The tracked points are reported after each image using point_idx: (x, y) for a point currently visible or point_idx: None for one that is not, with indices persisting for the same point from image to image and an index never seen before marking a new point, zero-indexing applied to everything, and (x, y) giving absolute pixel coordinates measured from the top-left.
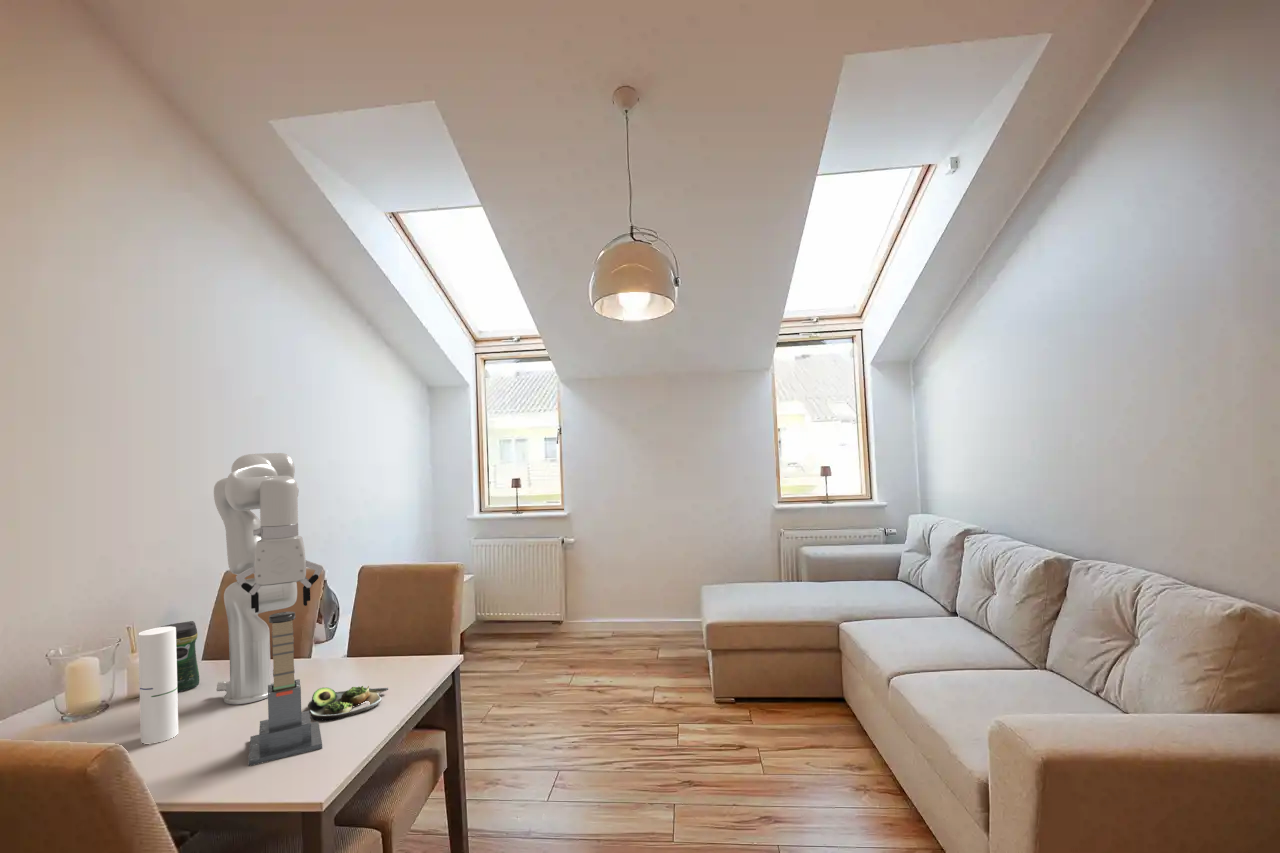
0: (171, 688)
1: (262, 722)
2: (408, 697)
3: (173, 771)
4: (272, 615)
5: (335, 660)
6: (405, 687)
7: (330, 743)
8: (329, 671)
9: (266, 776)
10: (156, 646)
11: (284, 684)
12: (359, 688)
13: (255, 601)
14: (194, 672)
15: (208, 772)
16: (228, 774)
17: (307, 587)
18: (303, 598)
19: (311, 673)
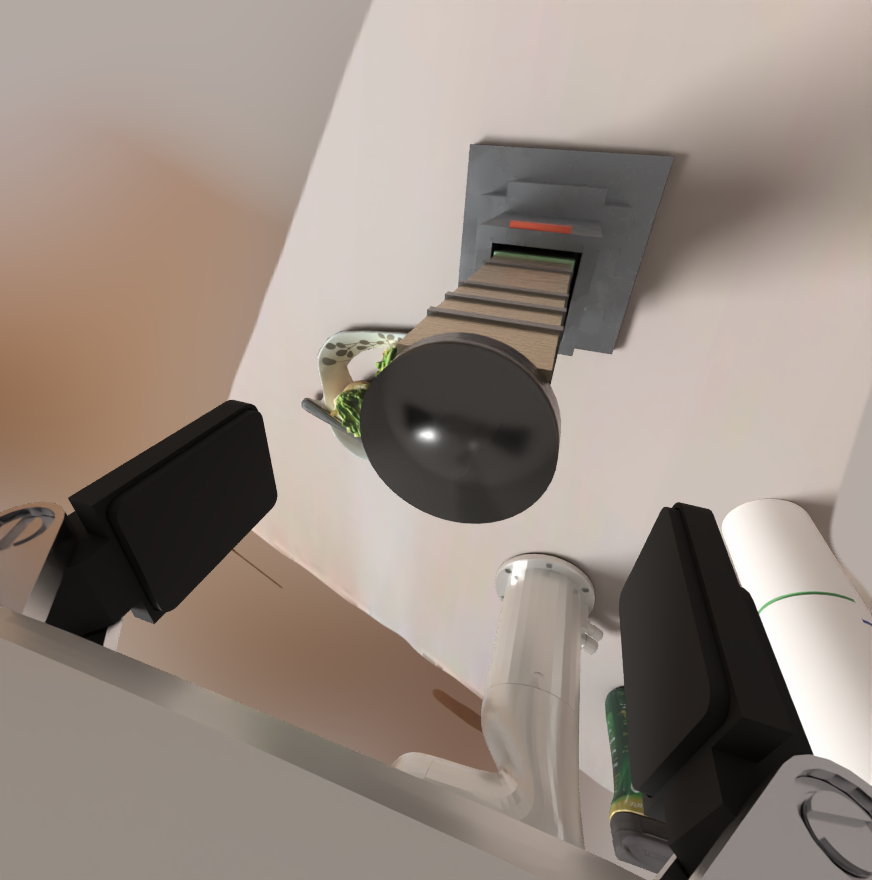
0: (792, 603)
1: (594, 315)
2: (270, 344)
3: (844, 284)
4: (522, 483)
5: (388, 618)
6: (276, 405)
7: (449, 169)
8: (401, 584)
9: (658, 7)
10: None
11: (531, 258)
12: (350, 421)
13: (742, 613)
14: (619, 717)
15: (776, 196)
16: (740, 128)
17: (56, 510)
18: (219, 462)
19: (430, 599)
